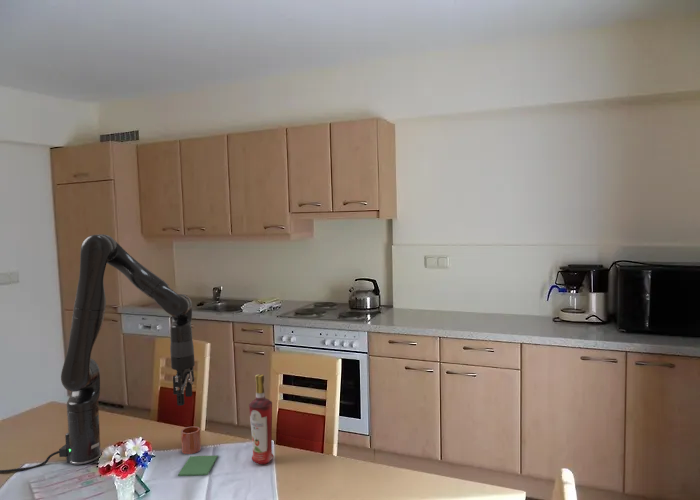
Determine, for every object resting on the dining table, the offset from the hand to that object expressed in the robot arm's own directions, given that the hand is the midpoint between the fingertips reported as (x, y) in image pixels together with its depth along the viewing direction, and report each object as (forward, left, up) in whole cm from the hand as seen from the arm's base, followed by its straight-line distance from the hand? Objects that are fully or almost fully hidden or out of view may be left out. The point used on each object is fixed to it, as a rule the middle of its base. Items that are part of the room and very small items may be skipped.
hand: (185, 400), depth 168 cm
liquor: (+27, -10, -18) cm, 34 cm away
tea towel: (+7, -12, -17) cm, 22 cm away
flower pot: (+1, 0, -17) cm, 17 cm away
